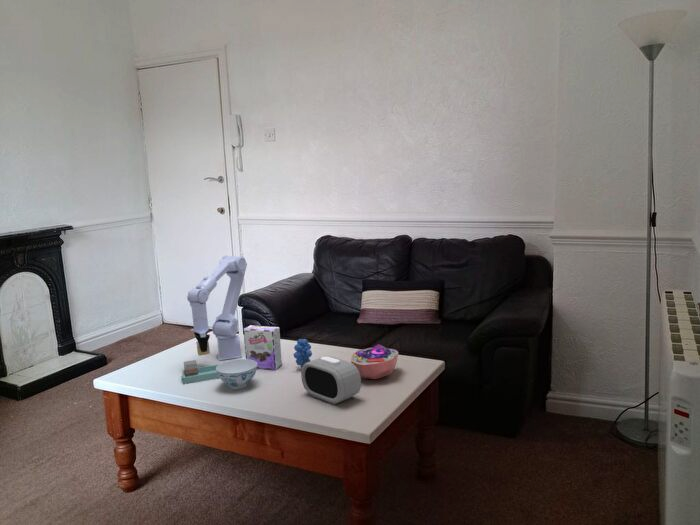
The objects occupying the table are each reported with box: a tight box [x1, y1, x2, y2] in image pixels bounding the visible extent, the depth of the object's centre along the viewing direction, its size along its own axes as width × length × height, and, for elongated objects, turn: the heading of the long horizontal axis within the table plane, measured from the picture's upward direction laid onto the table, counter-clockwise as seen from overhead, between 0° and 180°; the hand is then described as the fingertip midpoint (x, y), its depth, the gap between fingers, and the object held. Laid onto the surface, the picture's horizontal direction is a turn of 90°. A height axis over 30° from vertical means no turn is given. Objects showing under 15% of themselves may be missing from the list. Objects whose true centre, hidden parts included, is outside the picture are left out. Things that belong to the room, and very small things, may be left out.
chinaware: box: [216, 358, 258, 390], centre depth 213 cm, size 15×15×8 cm
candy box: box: [242, 324, 283, 371], centre depth 232 cm, size 14×6×16 cm, turn 68°
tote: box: [181, 363, 220, 385], centre depth 225 cm, size 15×9×2 cm, turn 110°
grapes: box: [293, 338, 313, 368], centre depth 229 cm, size 12×7×12 cm, turn 155°
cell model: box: [350, 344, 399, 380], centre depth 215 cm, size 17×20×11 cm
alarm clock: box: [300, 355, 362, 405], centre depth 198 cm, size 21×10×13 cm, turn 45°
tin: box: [183, 359, 199, 377], centre depth 223 cm, size 5×5×6 cm
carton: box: [196, 341, 211, 357], centre depth 234 cm, size 5×5×5 cm
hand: (203, 349), depth 234 cm, fingers closed on carton, 4 cm apart
